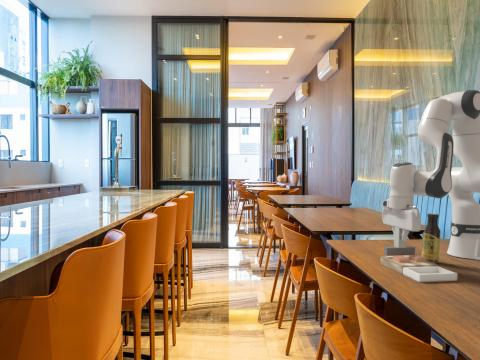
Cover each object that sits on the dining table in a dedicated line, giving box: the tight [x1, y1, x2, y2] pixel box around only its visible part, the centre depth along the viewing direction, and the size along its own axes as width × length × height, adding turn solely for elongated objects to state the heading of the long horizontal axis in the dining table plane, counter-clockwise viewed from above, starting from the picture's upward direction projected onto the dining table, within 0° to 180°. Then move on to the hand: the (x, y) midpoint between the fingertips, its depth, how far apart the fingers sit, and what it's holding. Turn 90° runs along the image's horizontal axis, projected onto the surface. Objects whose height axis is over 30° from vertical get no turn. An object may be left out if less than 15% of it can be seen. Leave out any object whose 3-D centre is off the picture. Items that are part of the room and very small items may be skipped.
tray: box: [402, 265, 458, 283], centre depth 124 cm, size 14×9×2 cm, turn 99°
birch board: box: [380, 255, 438, 275], centre depth 136 cm, size 14×14×3 cm
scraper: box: [383, 227, 416, 256], centre depth 140 cm, size 12×3×11 cm, turn 99°
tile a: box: [410, 254, 426, 262], centre depth 135 cm, size 4×4×2 cm
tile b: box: [392, 255, 409, 263], centre depth 134 cm, size 4×4×2 cm
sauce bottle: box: [421, 212, 441, 264], centre depth 145 cm, size 6×6×20 cm
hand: (400, 239), depth 140 cm, fingers closed on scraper, 3 cm apart
